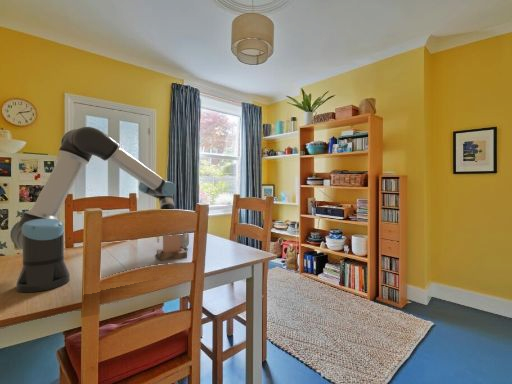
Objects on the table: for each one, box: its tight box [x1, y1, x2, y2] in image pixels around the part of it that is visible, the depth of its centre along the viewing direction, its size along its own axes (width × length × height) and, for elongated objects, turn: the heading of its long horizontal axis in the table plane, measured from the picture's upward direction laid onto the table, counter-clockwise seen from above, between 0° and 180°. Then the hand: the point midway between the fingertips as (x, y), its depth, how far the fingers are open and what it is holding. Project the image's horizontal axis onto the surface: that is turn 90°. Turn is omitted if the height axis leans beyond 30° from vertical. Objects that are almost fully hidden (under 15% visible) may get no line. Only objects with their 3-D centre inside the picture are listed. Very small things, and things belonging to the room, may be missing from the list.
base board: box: [156, 247, 188, 261], centre depth 134 cm, size 13×12×2 cm
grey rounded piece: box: [180, 233, 190, 250], centre depth 150 cm, size 14×11×8 cm
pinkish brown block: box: [162, 235, 180, 253], centre depth 134 cm, size 8×4×15 cm, turn 118°
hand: (172, 239), depth 132 cm, fingers open, 13 cm apart
